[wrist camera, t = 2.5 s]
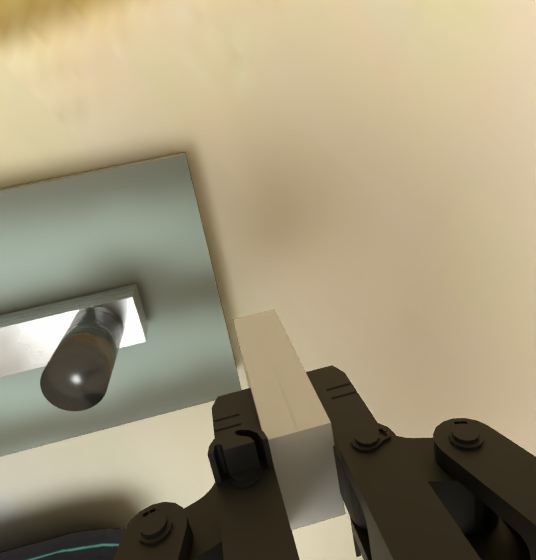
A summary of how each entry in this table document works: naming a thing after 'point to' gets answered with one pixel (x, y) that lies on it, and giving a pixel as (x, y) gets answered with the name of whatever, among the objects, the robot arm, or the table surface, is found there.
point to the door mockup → (111, 275)
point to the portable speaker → (71, 547)
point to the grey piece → (73, 343)
